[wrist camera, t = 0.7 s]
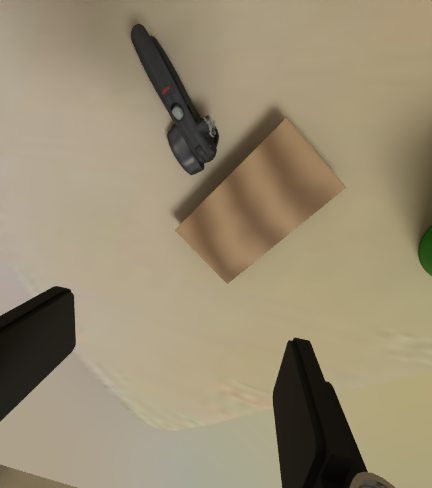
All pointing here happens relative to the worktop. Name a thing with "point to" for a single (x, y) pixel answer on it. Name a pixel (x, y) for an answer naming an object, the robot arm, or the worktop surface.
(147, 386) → the worktop surface
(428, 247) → the motor
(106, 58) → the worktop surface
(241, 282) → the worktop surface
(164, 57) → the can opener
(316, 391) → the robot arm
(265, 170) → the stand
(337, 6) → the worktop surface
